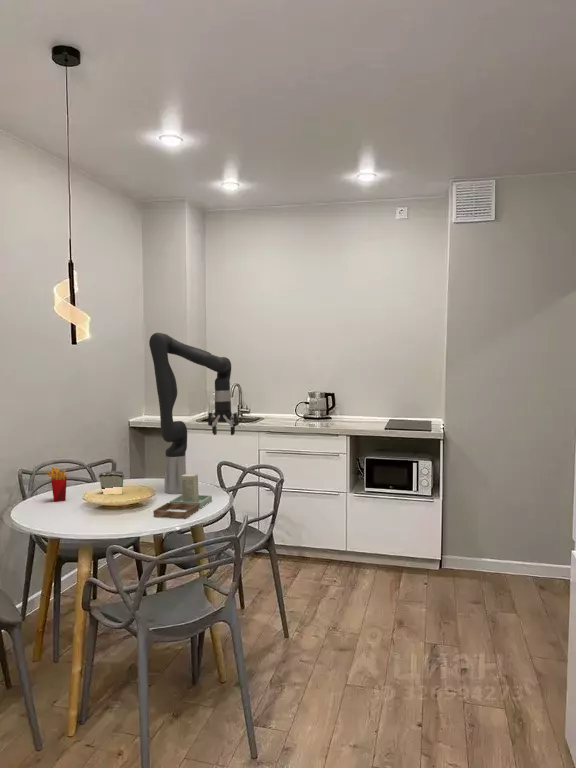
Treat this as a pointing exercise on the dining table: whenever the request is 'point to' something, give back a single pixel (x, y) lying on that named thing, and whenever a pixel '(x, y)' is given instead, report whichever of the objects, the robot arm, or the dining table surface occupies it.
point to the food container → (111, 479)
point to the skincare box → (190, 488)
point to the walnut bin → (173, 514)
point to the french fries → (58, 484)
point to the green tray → (202, 502)
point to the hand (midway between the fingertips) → (223, 434)
